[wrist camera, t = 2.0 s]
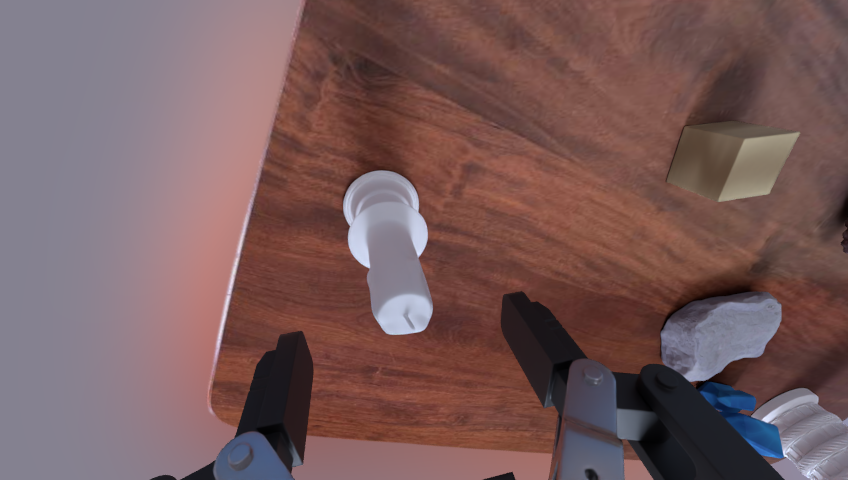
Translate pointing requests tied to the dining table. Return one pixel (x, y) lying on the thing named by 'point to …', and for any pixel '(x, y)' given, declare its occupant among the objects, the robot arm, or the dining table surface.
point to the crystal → (743, 417)
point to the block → (730, 159)
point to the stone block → (718, 333)
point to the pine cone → (845, 238)
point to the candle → (390, 249)
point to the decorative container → (808, 434)
